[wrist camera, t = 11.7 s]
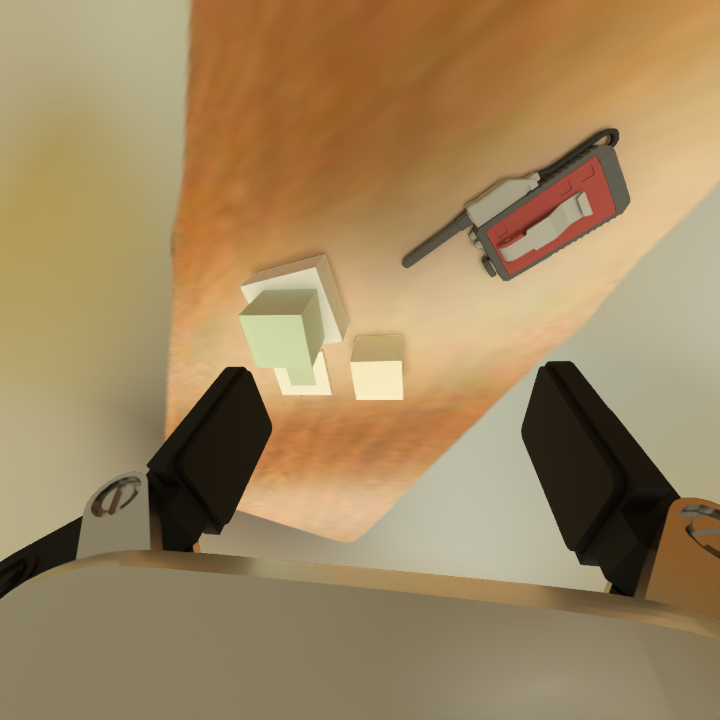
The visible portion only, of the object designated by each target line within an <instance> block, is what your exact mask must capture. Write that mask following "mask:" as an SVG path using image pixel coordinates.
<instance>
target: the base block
mask: <svg viewBox="0 0 720 720" xmlns="http://www.w3.org/2000/svg"><path fill="white" fill-rule="evenodd" d="M240 288H241V290H242V292H243V294H244V296H245V298H246V299H247V301H248V303H249V304H250V303H251V302H252V301H253V300H254V299H255V298H256V297H257V296H258V295H259V294H260V293H261V292H262V291H263V290H295V289H317V293H318V299H319V305H320V311H321V317H322V323H323V330H324V336H325V339H324V341H323V343H322V345H326V344H331V343H336V342H342V341H343V339H344V336H345V333H346V330H347V327H348V323H349V321H348V318H347V315H346V312H345V309H344V306H343V303H342V300H341V297H340V294H339V291H338V288H337V286H336V283H335V280H334V277H333V274H332V271H331V268H330V265H329V262H328V259H327V256H326V253H325V254H322V255H318V256H314V257H311V258H307V259H303V260H300V261H296V262H292V263H288V264H285V265H281V266H277V267H274V268H270V269H266V270H263V271H259V272H257V273H255V274H254V275H253V276H252V277H251V278H250V279H248V280H247V281H246V282H245V283H244V284H242V285H241V286H240Z"/></svg>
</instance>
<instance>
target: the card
mask: <svg viewBox="0 0 720 720" xmlns="http://www.w3.org/2000/svg"><path fill="white" fill-rule="evenodd" d="M274 371H275V374H276V377H277V380H278V383H279V386H280V388H281V391H282V394H283V395H332V389H331V384H330V379H329V375H328V370H327V365H326V361H325V356H324V351H323V350H320V351H319V353H318V355H317V358H316V360H315V363H314V365H313V367H312V369H306V368H274Z"/></svg>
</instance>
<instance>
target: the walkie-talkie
mask: <svg viewBox="0 0 720 720" xmlns="http://www.w3.org/2000/svg"><path fill="white" fill-rule="evenodd" d="M606 135H610V139H611V140H610V142H609V143H608V144H607V146H606V145H593V144H594V143H595V142H597V141H598V140H600V139H601V138H602V137H604V136H606ZM618 140H619V131H618V130H617V129H614V128H612V129H606V130H604V131H601V132H600V133H598V134H597V135H595V136H594V137H593V138H591V139H590V140H588V141H587V142H586V143H584V144H583V145H581V146H580V147H579V148H577V149H576V150H574V151H573V152H572V153H570V154H569V155H567V156H566V157H565V158H563V159H562V160H560V161H559V162H558V163H556V164H555V165H553V166H552V167H550V168H548V169H545V170H541V171H539V172H532V173H531V174H529V175H528V176H526V177H525V178H507V179H501V180H500V181H499V182H497V183H496V184H495V185H493V186H492V187H491V188H489V189H488V190H487V191H485V192H484V193H483V194H481V195H480V196H479V197H477V198H476V199H475V200H473V201H470V202H468V203H467V204H466V205H464V207H465V209H466V210H467V211H466V212H465V213H464V214H462V215H461V216H460V217H458V218H457V219H456V221H455V222H454V223H453V224H451V225H450V226H448V227H447V228H446V229H444V230H443V231H442V232H440V233H439V234H438V235H436V236H435V237H434V238H432V239H431V240H430V241H428V242H427V243H426V244H424V245H423V246H422V247H420V248H419V249H418V250H416V251H415V252H413V253H412V254H411V255H409V256H408V257H407V258H405V259H404V260H403V262H402V265H403V266H404V267H405V268H409V267H410V266H412V265H413V264H415V263H416V262H417V261H419V260H420V259H421V258H423V257H424V256H426V255H427V254H428V253H430V252H431V251H433V250H434V249H435V248H437V247H438V246H440V245H441V244H442V243H444V242H445V241H447V240H448V239H449V238H451V237H452V236H453V235H455V234H456V233H458V232H459V231H460V230H462V231H463V230H464V229H466V228H467V227H469V226H470V225H471V224H473V223H474V226H473V228H472V229H473V230H472V232H471V233H470V234H468V235H469V237H470V238H471V240H472V241H474V240H475V239H476V240H477V242H475V243H474V244H475V246H476V248H477V249H478V250H479V249H481V248H482V249H484V250H485V252H486V254H487V256H488V257H489V260H488V259H486V258H485V259H484V260H482V263H483V265H484V266H485V268H486V270H487V271H488V273H489V275H490V276H491V277H494V276H495V275H496V273H495V272H497V273H498V274H499V276H500V277H501V278H502V280H503V281H509V280H511V279H512V278H514V277H516V276H517V275H519V274H521V273H523V272H524V271H526V270H528V269H529V268H531V267H533V266H534V265H536V264H538V263H539V262H541V261H543V260H545V259H546V258H548V257H550V256H551V255H552V254H553V253H555V252H558V250H560V249H563V248H564V247H565V246H567V245H570V244H571V243H572V242H574V241H577V239H579V238H582V237H583V236H584V235H586V234H589V233H590V232H591V231H592V230H595V229H596V228H597V227H599V226H602V225H603V224H604V223H606V222H609V221H610V220H611V219H613V218H616V216H618V215H619V214H622V213H623V212H624V210H625V209H626V208H627V206H628V205H629V203H630V196H629V193H628V190H627V186H626V183H625V180H624V177H623V174H622V171H621V167H620V164H619V161H618V158H617V155H616V152H615V150H614V148H613V147H614V146H615V145H616V144H617V142H618ZM542 175H544V176H543V177H541V176H542Z"/></svg>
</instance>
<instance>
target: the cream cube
mask: <svg viewBox="0 0 720 720" xmlns="http://www.w3.org/2000/svg"><path fill="white" fill-rule="evenodd" d="M350 364H351V370H352V376H353V382H354V389H355V395H356V400H403V350H402V334H401V335H375V336H357V337H356V341H355V345H354V349H353V353H352V357H351V361H350Z"/></svg>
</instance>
